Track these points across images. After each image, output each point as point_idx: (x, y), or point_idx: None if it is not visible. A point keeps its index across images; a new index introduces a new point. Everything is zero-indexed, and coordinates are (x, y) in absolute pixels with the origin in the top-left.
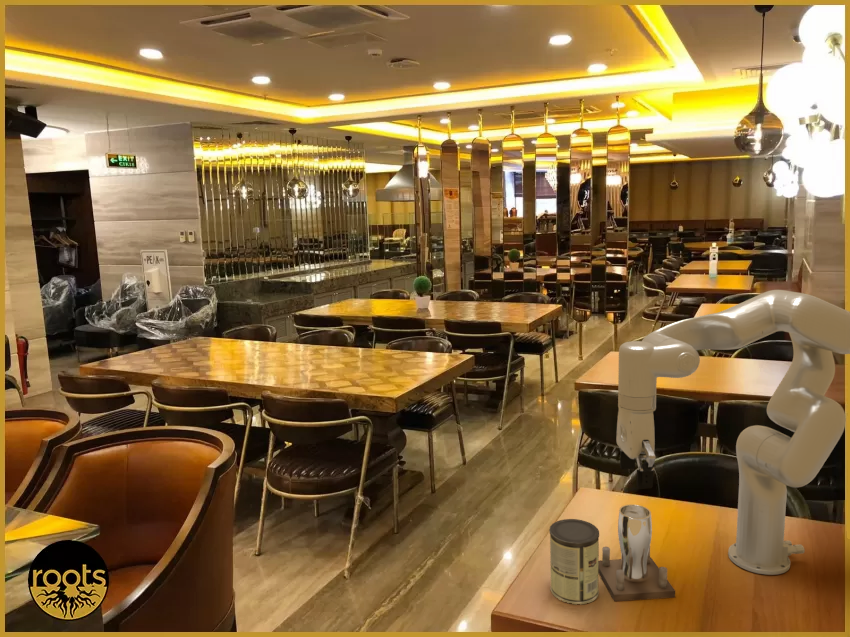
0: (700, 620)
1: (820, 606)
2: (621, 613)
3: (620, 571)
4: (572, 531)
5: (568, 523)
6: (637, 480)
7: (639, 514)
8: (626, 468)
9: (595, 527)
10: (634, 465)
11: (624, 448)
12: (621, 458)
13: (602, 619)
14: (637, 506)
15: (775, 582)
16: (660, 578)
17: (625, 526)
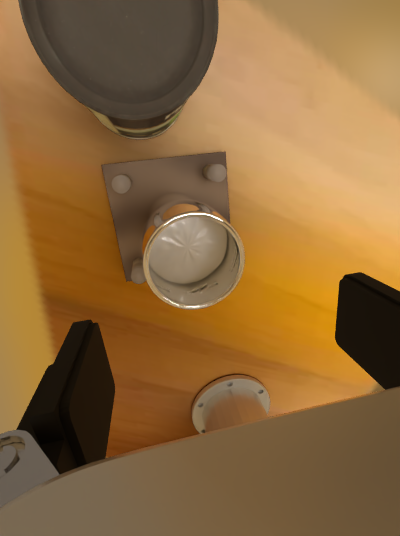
0: (66, 299)
1: (123, 443)
2: (64, 170)
3: (121, 184)
4: (120, 2)
5: (185, 1)
6: (59, 351)
7: (227, 274)
8: (340, 303)
9: (152, 111)
10: (346, 351)
11: (311, 493)
12: (397, 306)
13: (37, 125)
14: (235, 277)
15: (175, 411)
16: (135, 264)
17: (156, 218)
